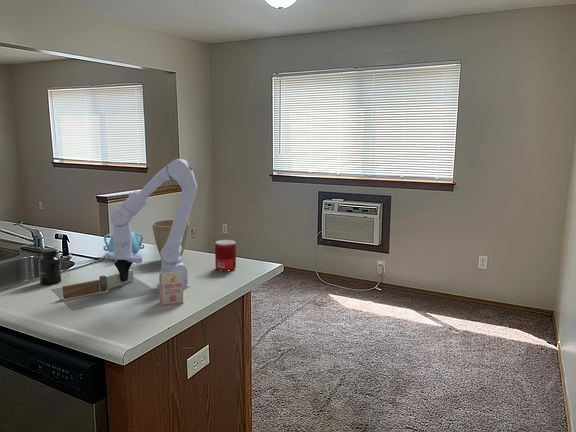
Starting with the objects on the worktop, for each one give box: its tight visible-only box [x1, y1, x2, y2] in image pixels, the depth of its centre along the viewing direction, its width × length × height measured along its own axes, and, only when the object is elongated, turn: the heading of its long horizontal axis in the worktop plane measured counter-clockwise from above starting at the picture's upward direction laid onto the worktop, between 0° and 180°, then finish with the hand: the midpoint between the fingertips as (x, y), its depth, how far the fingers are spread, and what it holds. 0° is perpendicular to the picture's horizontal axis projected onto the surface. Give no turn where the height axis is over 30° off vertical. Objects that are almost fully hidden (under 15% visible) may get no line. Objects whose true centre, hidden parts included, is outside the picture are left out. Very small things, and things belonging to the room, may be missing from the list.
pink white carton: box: [158, 271, 184, 307], centre depth 144 cm, size 4×7×10 cm, turn 112°
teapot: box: [103, 230, 145, 255], centre depth 197 cm, size 20×17×12 cm
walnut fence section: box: [61, 275, 107, 299], centre depth 149 cm, size 2×13×5 cm, turn 131°
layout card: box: [50, 276, 159, 311], centre depth 154 cm, size 25×27×1 cm
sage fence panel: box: [106, 268, 134, 289], centre depth 159 cm, size 1×11×4 cm, turn 150°
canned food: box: [214, 239, 237, 272], centre depth 181 cm, size 8×8×11 cm
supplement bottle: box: [38, 247, 62, 286], centre depth 160 cm, size 7×7×12 cm
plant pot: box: [151, 219, 190, 260], centre depth 192 cm, size 15×15×16 cm
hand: (124, 281), depth 159 cm, fingers closed
